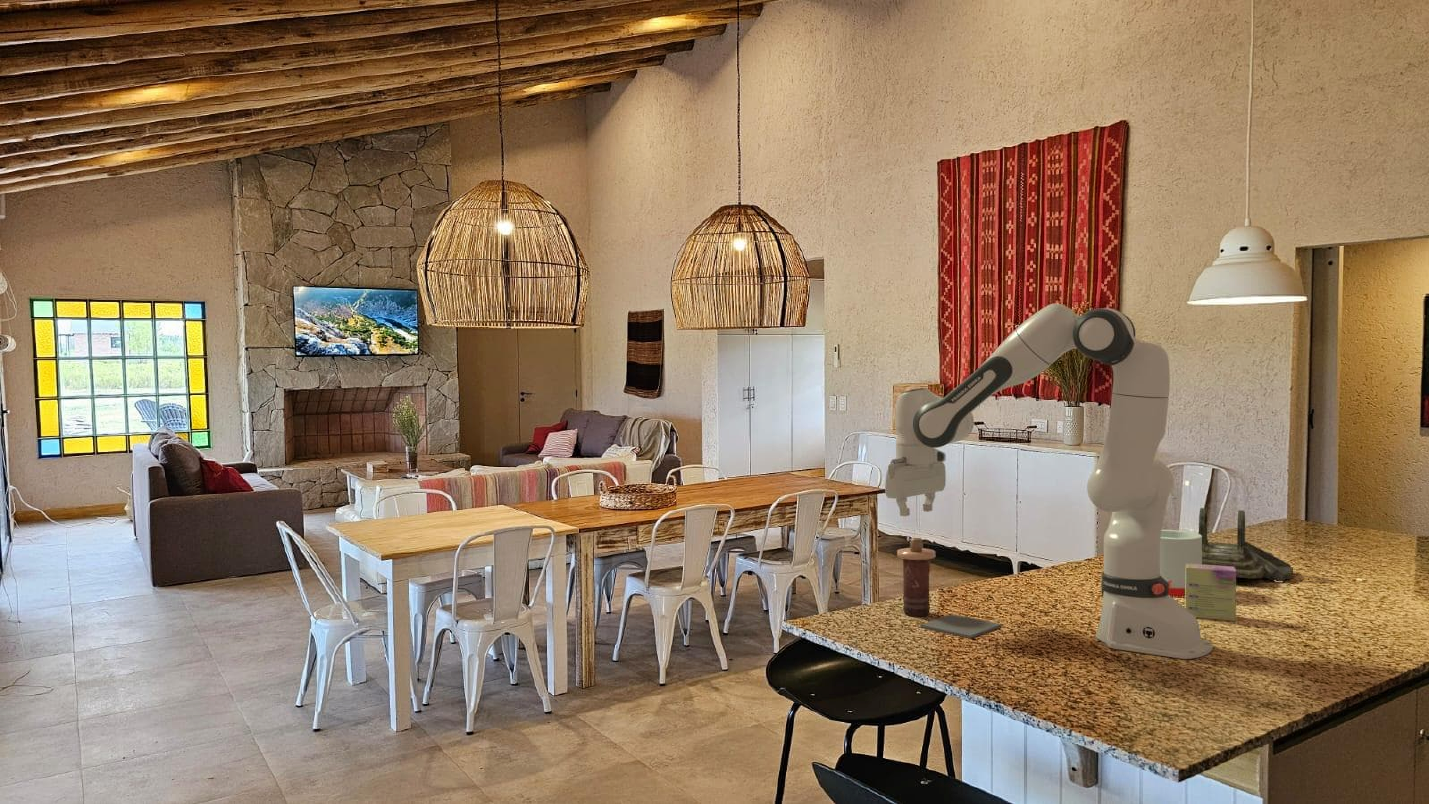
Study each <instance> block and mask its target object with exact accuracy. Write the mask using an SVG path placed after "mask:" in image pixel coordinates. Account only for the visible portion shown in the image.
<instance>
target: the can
mask: <svg viewBox="0 0 1429 804" xmlns="http://www.w3.org/2000/svg"><path fill="white" fill-rule="evenodd" d="M902 567H903V571H902V575H903V576H902V577H903V578H902V579H903V582H902V585H903V589H902V590H903V591H902V592H903V613H904V614H905V615H906V616H908V617H915V618H916V617H917V618H918V617H926V616H928V615H929V614H930V572H931V571H930V570H931V559H927V560H909V559H903V558H902Z"/></svg>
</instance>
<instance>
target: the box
mask: <svg viewBox="0 0 1429 804" xmlns="http://www.w3.org/2000/svg"><path fill="white" fill-rule="evenodd" d="M1184 608H1185V609H1186V610H1188V611H1189V612H1190V613H1192V614H1193V615H1194V616H1195V617H1196V619H1197V618H1198V619H1209V620H1219V621H1227V622H1230V621H1231V622H1236V620H1237V577H1236V570H1235V567H1232V566H1217V565H1202V564H1189V563H1186V568H1185V597H1184Z"/></svg>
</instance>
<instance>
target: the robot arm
mask: <svg viewBox="0 0 1429 804" xmlns="http://www.w3.org/2000/svg"><path fill="white" fill-rule="evenodd" d="M1075 349H1077V351H1079V353H1081V354H1082V356H1085V357H1087V358H1089V359H1091V360H1093V361H1097V362H1100V363H1102V364H1105V365H1107V366H1110V367H1111V368H1112V372H1113V373H1112V374H1113V382H1112V383H1113V384H1112V393H1111V400H1110V401H1111V402H1110V408H1109V409H1110V410H1109V419H1108V428H1107V432H1106V436H1105V439H1104V443H1103V445H1102V448H1101V451H1100V454H1099V458H1098V461H1097V464H1096V466H1095V468H1094V470H1093V472H1092V474H1090V476H1089V478H1088V481H1087V484H1086V488H1087V489H1086V490H1087V495H1088V497H1089V499H1090V501H1091V503H1092V504H1093V505H1094V506H1095V507H1097V509H1100V510H1102V511H1104V512H1107V513H1108V512H1109V513H1111V516H1110V520H1109V524H1108V527H1107V529H1106V531H1105V533H1104V535H1103V571H1102V572H1101V581H1100V583H1101V584H1100V585H1101V586H1100V590H1101V597H1102V604H1101V605H1102V606H1101V613H1100V614H1101V615H1100V620H1099V624H1098V627H1097V630H1096V634H1095V637H1096V639H1098V640H1099V641H1101V642H1103V643H1105V644H1106V646H1107V647H1108V648H1110V649H1115V650H1120V651H1121V650H1122V651H1127V652H1136V653H1139V654H1140V653H1142V654H1147V655H1154V656H1163V657H1168V658H1174V659H1183V660H1188V659H1189V660H1191V659H1196V658H1197V659H1198V658H1201V657H1204V656H1206V655H1208V654H1210V653H1211V652H1212V651H1213V648H1214V647H1213V643H1212V642H1211V641H1210V640H1208V639H1204V638H1201V637H1202V636H1201V630H1200V625H1199V622H1198V619H1197V617H1195V616H1194V615H1193V614H1192V613H1190V612H1189V611H1188V610H1186V609H1185V606H1183V605H1182V604H1181V603H1179V602H1178V601H1177V600H1176V599H1175V598H1174V597H1171V596H1170V595H1169V586H1171V585H1170V583H1171V582H1172V581H1171V580H1170V581H1168V582H1167V581H1166V580H1165V579H1163V578H1162V577H1161V576H1160V537H1161V530H1163V524H1164V519H1165V514H1166V510H1167V509H1166V508H1167V503H1168V499H1169V496H1170V494H1171V492H1172V490H1173V488H1174V476H1173V473H1172V471H1171V469H1170V468H1169V467H1168V466H1167V464H1165V463H1163V462H1162V461H1161V460H1158V459H1156V458H1155V457H1156V454H1157V452H1158V449H1159V447H1160V446H1159V445H1160V444H1161V442H1162V440H1163V439H1164V437H1165V434H1166V429H1167V418H1168V408H1169V399H1170V398H1169V397H1170V384H1171V378H1170V377H1171V373H1170V371H1171V370H1170V361H1169V355H1168V353H1167V351H1166V350H1165V349H1164V348H1163V347H1161V346H1160V345H1158V344H1155V343H1153V342H1152V343H1151V342H1145V341H1140V340H1138V339H1137V338H1136V329H1135V325H1134V324H1133V321H1132V320H1131V319H1130V317H1128V316H1127V314H1124V313H1123V312H1121V311H1119V310H1117V309H1114V308H1109V307H1108V308H1107V307H1104V308H1103V307H1101V308H1094V309H1091V310H1088V311H1086V312H1084V313H1083V314H1082V315H1079V314H1077V313H1075V312H1074V311H1073V310H1072V309H1071V308H1070V307H1068V306H1066V305H1065V304H1061V303H1051V304H1048V305H1046V306H1044V307H1043V308H1041V309H1040V310H1038V311H1037V312H1035V313H1034V314H1033V315H1031V316H1030V317H1028V318H1027V319H1026V320H1024V321H1023V322H1022V323H1021V324H1020V325H1019V326H1018V327H1016V328H1015V329H1014V330H1013V331H1012V332H1011V333H1010V334H1009V335H1008V336H1007V337H1006V338H1005V339H1004V340H1003V341H1002V342H1001V343H1000V345H999V346H998V347H996V349H995V350H994V351H993V352H992V353H991V354H990V356H989V357H987V359H986V360H985V361H984V362H983V363H982V364H981V365H980V366H978V368H977V369H976V370H974V372H972V373H971V374H969V376H968V377H967V378H965V379H964V380H963V381H962V382H960V383H959V385H958V386H956V387H955V388H954V389H953V390H951V391H950V392H949V393H948V394H946V395H945V396H944V397H942V396H939V395H937V394H936V393H934V392H933V391H931V390H930V389H929V388H926V387H925V388H924V387H922V388H921V387H920V388H915V389H913V388H912V389H909V390H904V391H902V392H901V393H899V395H898V396H897V399H896V403H895V414H894V415H895V416H894V417H895V422H894V423H895V425H894V426H895V429H896V435H897V436H896V441H895V458H893V459H891V461H890V462H889V464H888V466H887V470H886V474H885V483H884V484H885V485H884V486H885V487H884V492H885V496H886V497H887V499H896V502H895V503H896V504H897V506H898V508H899V515H900V516H901V517H908V516H910V515H911V514H910V510H911V509H910V508H909V507H908V505H907V502H908V498H911V497H916V496H921V495H924V497H925V499H924V503H923V504H922V507H923V508H922V510H923V512H927V513H928V512H929V513H930V512H932V511H933V504H934V501H935V499H936V493H938V492H943V491H944V490H945V487H946V482H947V481H946V479H947V478H946V476H947V475H946V474H947V473H946V466H945V465H946V464H945V463H944V462H945V461H946V459H947V458H946V453H945V452H943V451H941V450H939V449H937V448H941V447H944V446H946V445H949V444H954V443H957V442H960V441H962V440H964V439H966V438H967V437H968V436H970V434H971V433H972V431H973V428H974V426H975V425H974V421H975V420H974V416H973V414H972V413H973V411H974V410H976V409H977V408H978V407H979V406H980V405H981V404H983V403H984V402H985V401H986V400H988V399H989V398H990V397H991V396H993V395H995V394H996V393H998V392H1000V391H1003V390H1005V389H1007V388H1011V387H1014V386H1018V385H1022V384H1024V383H1025V384H1026V383H1027V382H1028V381H1029V382H1030V380H1032V379H1034V378H1036V377H1037V376H1039V375H1040V374H1042V373H1043V372H1045V371H1046V370H1047V369H1048V368H1049V367H1050V366H1051V365H1052V364H1053V363H1055V362H1056V361H1057V360H1058V359H1060V357H1062V356H1063V355H1064V354H1065V353H1067V352H1069V351H1071V350H1075Z"/></svg>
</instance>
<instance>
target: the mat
mask: <svg viewBox="0 0 1429 804" xmlns="http://www.w3.org/2000/svg"><path fill="white" fill-rule="evenodd" d="M919 626H920V628H922V629H926V630H930V631H935V632H939V633H943V634H944V633H945V634H949V635H952V636H953V635H954V636H958V637H963V638H967V639H973V638H975V637H977V636H981V635H984V634H986V633H988V632H992V631H994V630H996V629H998V628H1001V627H1002V623H998V622H995V621H994V622H993V621H989V620H988V621H987V620H984V619H979V618H974V617H973V618H972V617H968V616H963V615H959V614H954V613H952V614H947V615H945V616H941V617H940V618H937V619H933V620H930V621H927V622H925V623H922V624H920V625H919Z"/></svg>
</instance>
